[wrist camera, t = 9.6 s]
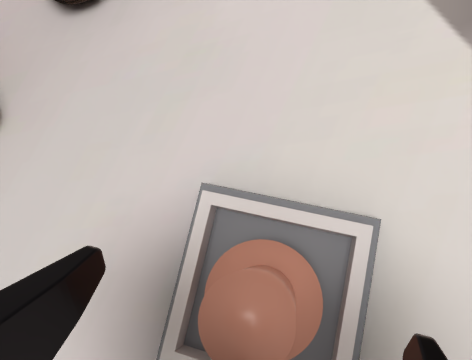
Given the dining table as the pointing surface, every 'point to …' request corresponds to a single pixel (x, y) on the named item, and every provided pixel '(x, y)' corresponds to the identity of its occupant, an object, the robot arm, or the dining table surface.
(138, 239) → the dining table surface
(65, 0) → the mate gourd
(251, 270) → the pink flanged peg
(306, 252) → the station board
